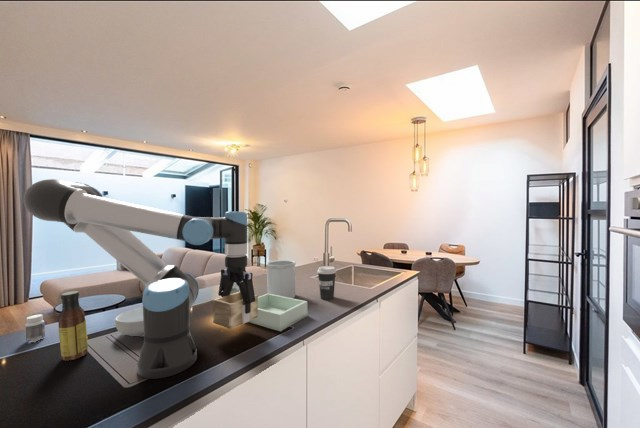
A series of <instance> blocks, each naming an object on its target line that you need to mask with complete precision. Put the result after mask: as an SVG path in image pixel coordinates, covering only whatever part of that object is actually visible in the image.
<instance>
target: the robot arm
mask: <svg viewBox="0 0 640 428" xmlns="http://www.w3.org/2000/svg"><path fill="white" fill-rule="evenodd" d="M22 201H23V205H24V207H25V209H26V210H27V212H29V214H30V215H31V216H33V217H34V218H37V219H39V220H42V221H47V222H56V223H57V222H58V223H63V224H64V225H66V226H67V227H69V229H70V230H72V231H73V232H75V233H83V234H86V235H87V236H88V237H89V238H90V239H92V240H93V241H94V242H95V243H96V244H97V245H98V246H100V247H101V248H102V249H103V250H104V251H105V252H107V253H108V254H109V255H110V256H111V257H112V258H114V259H115V260H116V261H117V262H118V263H119V264H120V265H122V266H123V268H125V269H126V270H127V271H129V272H130V273H131V274H132V275H133V276H134V277H136V279H138V280H139V281H140V282H141V283H143V284H144V285H145V286H144V287H145V288H144V290H143V291H142V300H141V302H142V308H143V321H144V336H143V345H142V347H141V350H140V354H139V356H138V359H137V363H136V364H137V365H136V367H137V368H136V371H137V375H138V376H139V377H141V378H143V379H149V380H150V379H151V380H156V379H164V378H167V377H168V378H169V377H172V376H175V375H177V374H179V373H182V372H183V371H186V370H188V369H189V368H190V367H191V366H193V365H194V364H195V363H196V361H197V359H198V352H197V347H196V344H195V341H194V339H193V336H192V334H191V325H190V323H191V320H190V319H191V318H190V316H191V315H190V310H191V308H192V307H193V305H194V303H195V302H196V300H197V299H198V296H199V290H200V286H199V282H198V280H197V278H195V276H193V274H191V273H188V272H186V271H185V272H184V271H183V270H182V269H180V267H178V266H177V265H176V264H167V263H166V262H165V261H164V260H163V259H162V258H160V257H159V256H158V255H157V254H156V253H155V252H153V250H151V249H150V248H149V246H147V245H146V244H145V243H144V242H143V241H141V240H140V239H139V238H138V237H137V236H136V235H135V234H133V233H132V232H135V233H140V234H146V235H150V236H151V235H152V236H157V237H162V238H169V239H173V240H178V241H182V242H187V243H188V244H189V245H192V246H193V245H194V246H202V245H204V244H205V243H208V242H209V241H210V240H222V239H223V240H224V256H225V257H224V267H225V268H223V269H221V270H220V282H219V288H218V292H217V294H218V296H219V297H224V296H227V295H230V292H231V290H232V287H233V284H234V282H235V283H236V284H237V286H239V289H240V292H241V295H242V299H243V302H244V303H243V304H242V323H243V324H242V325H244V324H246V323H250V322H249V321H250V312H251V303H252V302H255V295H256V293H255V289H254V284H253V283H254V282H253V276H254V274H253V273H252V272H247V270H246V268H247V267H248V256H247V254H248V214H247V213H246V212H245V211H226V212H225V213H224V216H220V217H217V216H216V217H215V216H213V217H212V216H211V217H210V216H206V217H205V216H204V217H203V216H202V217H201V216H194V215H193V216H192V215H188V214H187V215H185V214H182V213H177V212H174V211H173V212H172V211H169V210H164V209H158V208H154V207H149V206H144V205H140V204H134V203H130V202H126V201H120V200H117V199H111V198H106V197H104V196H103V194H102V193H101V191H99V190H98V189H97V188H96V187H94V186H91V185H90V184H86V183H83V182H77V181H75V182H73V181H68V180H67V181H66V180H60V179H56V178H55V179H53V178H52V179H51V178H49V179H42V180H39V181H37V182H34V183H33V184H32V185H30V186H29V187H28V188H27V189H26V190H25V192H24V194H23V200H22ZM241 281H243V282H241Z"/></svg>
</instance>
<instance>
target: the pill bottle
mask: <svg viewBox="0 0 640 428" xmlns="http://www.w3.org/2000/svg"><path fill="white" fill-rule="evenodd" d="M45 324H46V323H45V320H44V315H43V314H40V313H39V314H34V315H30V316H27V317H26V323H25V324H24V332H25V343H26V342H29V341H36V340H40V339H43V338H44V337H45V338H46V334H45V333H46V328H45V327H46V326H45ZM45 338H44V339H45ZM44 339H43V340H44Z"/></svg>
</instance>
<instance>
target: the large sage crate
mask: <svg viewBox="0 0 640 428" xmlns="http://www.w3.org/2000/svg"><path fill="white" fill-rule="evenodd" d="M308 315H309V314H308V301H307V300H302V299H297V298H288V297H283V296H278V295H273V294H268V293H265V294H262V295H260V296H258V317H257V318H255V319H253V320H250V321H249V322H248V323H251V324H254V325H258V326H261V327H264V328H267V329H271V330H274V331H278V332H282V331H283V330H286V329H287V328H289V327H291V326H293V325H294V324H296V323H298V322H299V321H301V320H302V319H305V318H306V317H308Z"/></svg>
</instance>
